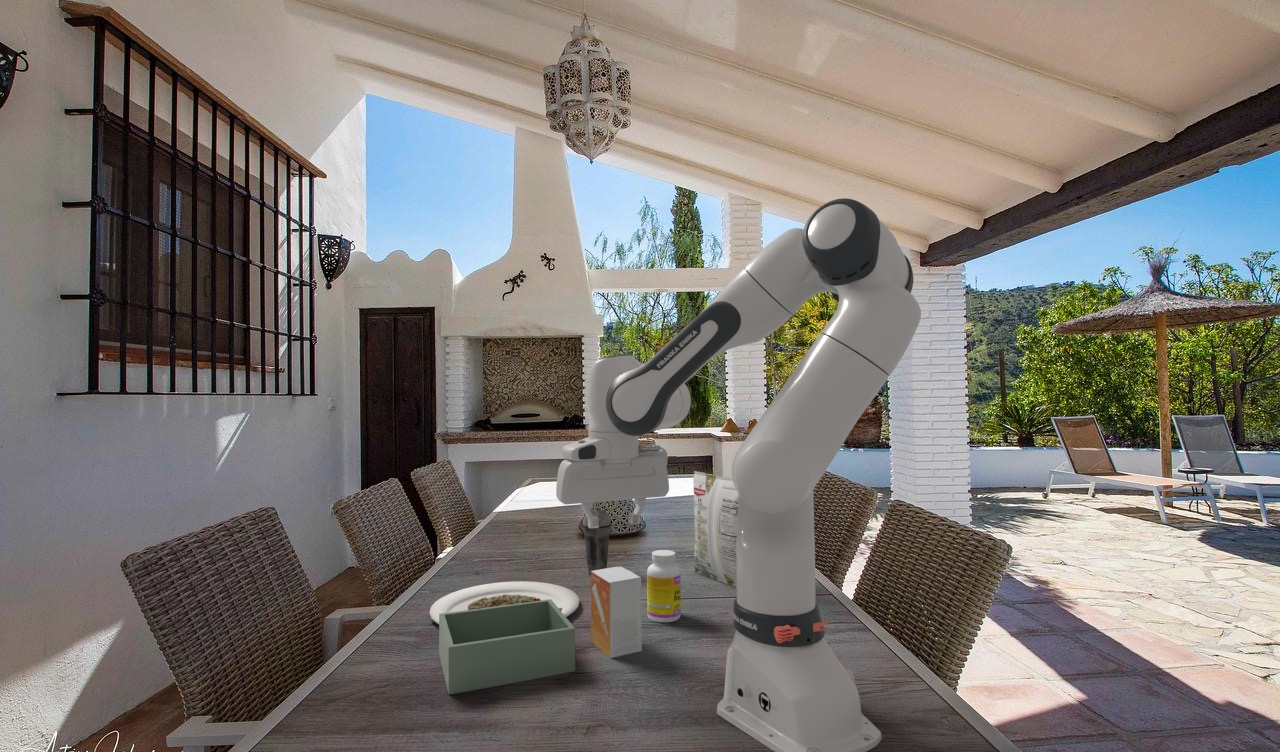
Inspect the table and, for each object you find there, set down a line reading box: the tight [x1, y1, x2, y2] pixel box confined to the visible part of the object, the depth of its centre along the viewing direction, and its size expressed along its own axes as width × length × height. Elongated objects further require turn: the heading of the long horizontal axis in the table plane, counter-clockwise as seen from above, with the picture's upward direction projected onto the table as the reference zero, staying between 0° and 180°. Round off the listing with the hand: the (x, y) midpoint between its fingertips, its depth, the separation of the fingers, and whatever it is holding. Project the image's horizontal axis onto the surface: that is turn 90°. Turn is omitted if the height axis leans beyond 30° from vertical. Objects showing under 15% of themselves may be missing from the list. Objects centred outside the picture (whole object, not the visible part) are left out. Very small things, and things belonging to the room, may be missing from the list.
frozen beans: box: [692, 470, 739, 588], centre depth 152 cm, size 21×6×25 cm, turn 32°
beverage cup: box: [581, 502, 612, 574], centre depth 161 cm, size 7×7×20 cm
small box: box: [590, 566, 643, 659], centre depth 114 cm, size 8×6×13 cm
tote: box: [438, 599, 576, 696], centre depth 108 cm, size 16×20×7 cm
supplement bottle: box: [646, 549, 682, 624], centre depth 129 cm, size 7×7×13 cm
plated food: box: [429, 580, 580, 625], centre depth 134 cm, size 30×30×3 cm
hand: (614, 525), depth 114 cm, fingers open, 6 cm apart
